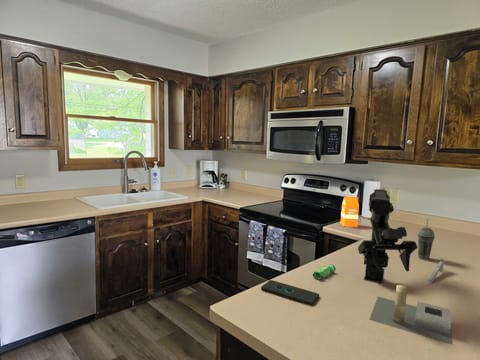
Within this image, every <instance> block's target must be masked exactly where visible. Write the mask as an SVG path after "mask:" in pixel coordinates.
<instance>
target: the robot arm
mask: <svg viewBox="0 0 480 360" xmlns="http://www.w3.org/2000/svg"><path fill="white" fill-rule="evenodd" d="M387 193H388V192H387V190H386V189H381V188H380V189H379V188H376V189H374V190H373V192H372V193H371V194H369V199H368V207H369V210H368V211H369V212H370V213H371V216H370V218H369V221H370V224H371V228H372V229H371V230H372V231H371V239H370V240H369V239H367V240H366V239H363V240H362V241H361V242H360V244H359V245H358V247H357V250H358V254H359V255H363V257H364V258H363V265H365V271H364V272H365V273H364V277H363V279H364V280H367V281H370V282H376V283H379V284H380V283H382V282H383V281H384V279H385V269H386V268H388V267H389V265H388V264H389V259H390V256H389V255H388V252H386V251H387V250H388V251H392V250H393V251H398V253H399V258H400V262H401V263H402V265H403V268H404V270H405V271H406V272H407V273H408V272H410V260H411V254H413V253H414V252H415V251H416V250H417V249H418V244H417V242H416V241H414V240H403V241H402V242H401V243H399V244H398V242H399V240H402V239H403V238H404V237H407V236H408V233H407V230H406V227H405V226H399V227H397V228H392V227H390V224H389V219H390V214H392V213H393V212H395V211H394V210H395V208H394V205H393V203H392V202H391V197H390V195H389V194H387Z"/></svg>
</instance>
